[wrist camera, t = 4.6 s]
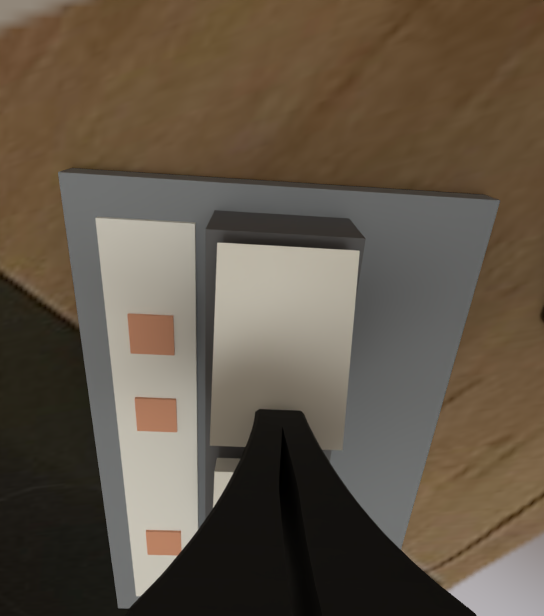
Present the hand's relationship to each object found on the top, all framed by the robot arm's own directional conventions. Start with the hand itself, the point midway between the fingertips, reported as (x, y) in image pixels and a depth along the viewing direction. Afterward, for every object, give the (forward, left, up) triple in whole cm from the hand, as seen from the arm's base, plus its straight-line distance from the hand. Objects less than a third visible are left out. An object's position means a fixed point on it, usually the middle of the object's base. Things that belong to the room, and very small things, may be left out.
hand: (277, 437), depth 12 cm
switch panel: (0, +6, -7) cm, 10 cm away
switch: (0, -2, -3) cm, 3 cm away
